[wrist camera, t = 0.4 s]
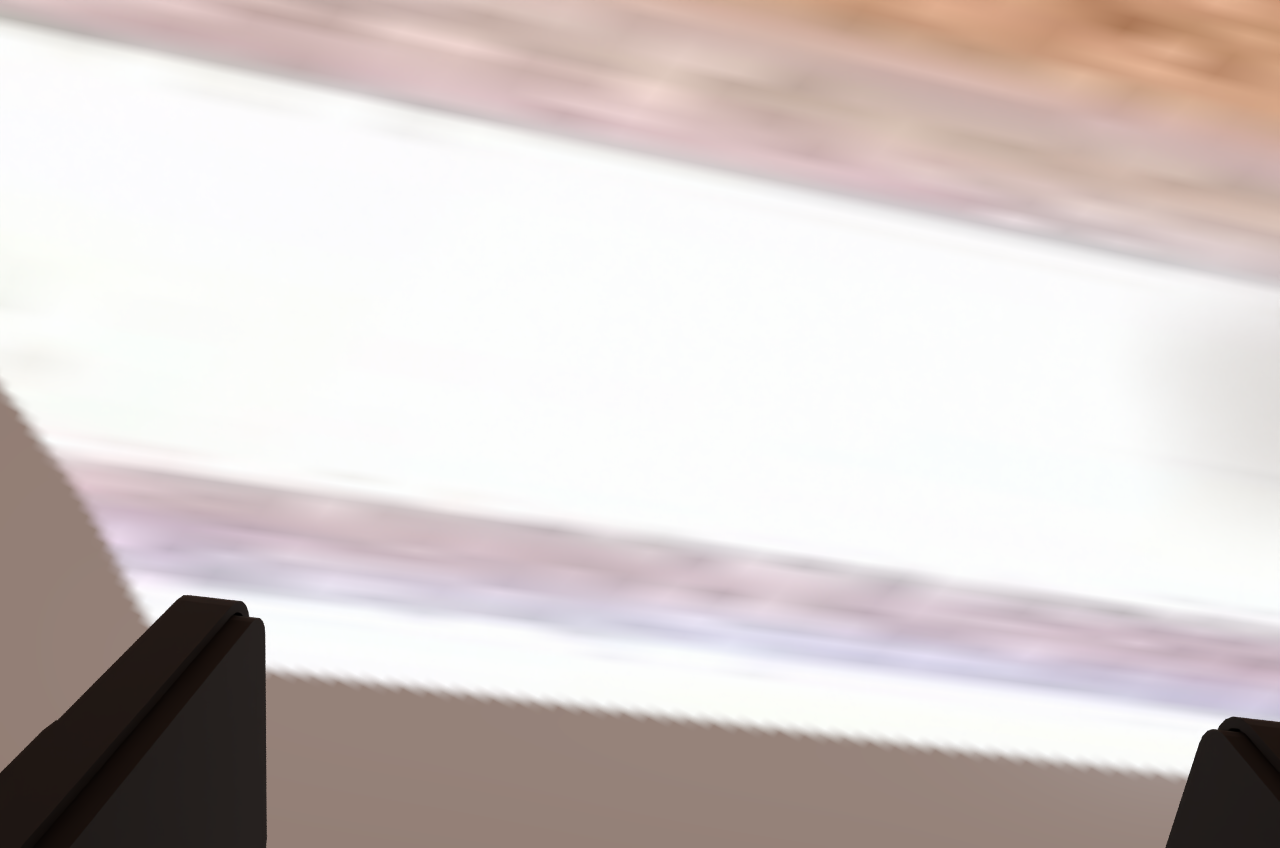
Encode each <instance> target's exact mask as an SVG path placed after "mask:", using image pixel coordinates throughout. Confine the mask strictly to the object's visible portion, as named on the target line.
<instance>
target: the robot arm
mask: <svg viewBox="0 0 1280 848" xmlns="http://www.w3.org/2000/svg"><path fill="white" fill-rule="evenodd" d="M265 681H266V673H265V626H264V623H263V621H262V620H261V619H260V618H254V617H249V613H248V610H247V607H246V605H245V604H244V603H243V602H242V601H235V600H226V599H217V598H209V597H200V596H192V595H183V596H182V597H180V598H179V599H178V600H176V601H175V602H174V603H173V604H172V605H171V606H170V607H169V608H168V609H167V611H166V612H165V613H164V614H163V615H162V616H161V617H160V618H159V619H158V620H157V621H156V622H155V623H154V624H153V625H152V626H151V627H150V628H149V629H148V630H147V631H146V632H145V633H144V634H143V635H142V636H141V637H140V638H139V639H138V640H137V641H136V642H135V643H134V644H133V645H132V646H131V647H130V648H129V649H128V650H127V651H126V652H125V653H124V654H123V655H122V656H121V657H120V658H119V659H118V660H117V661H116V662H115V663H114V664H113V665H112V666H111V667H110V668H109V669H108V670H107V671H106V672H105V673H104V674H103V675H102V676H101V677H100V678H99V679H98V680H97V681H96V682H95V683H94V684H93V685H92V686H91V687H90V688H89V689H88V690H87V691H86V692H85V693H84V694H83V695H82V696H81V697H80V699H78V700H77V701H76V702H75V703H74V704H73V705H72V706H71V707H70V708H69V709H68V710H67V711H66V713H64V714H63V715H62V716H61V717H60V718H59V719H58V720H56V721H55V722H53V723H52V724H51V725H49V726H48V727H47V728H45V729H44V730H43V731H42V732H41V733H40V734H39V735H38V736H37V737H36V738H35V739H34V740H33V741H32V742H31V743H30V744H29V745H28V746H27V747H26V748H25V749H24V750H23V751H22V752H21V753H20V754H19V755H18V756H17V757H16V758H15V759H14V760H13V761H12V762H11V763H10V764H9V765H8V766H7V767H6V768H5V769H4V770H3V771H2V772H1V773H0V848H266V840H267V825H266V824H267V823H266V821H267V819H266V816H267V815H266V688H265V686H266V683H265ZM1166 848H1280V722H1275V721H1266V720H1258V719H1249V718H1241V717H1231V718H1228V719H1225V720H1224V721H1223V723H1222V724H1221V725H1220V726H1219V728H1218V730H1216V729H1212V730H1209V731H1207V732H1206V733H1205V734H1204V735H1203V736H1202V739H1201V741H1200V743H1199V746H1198V749H1197V752H1196V755H1195V758H1194V761H1193V764H1192V767H1191V770H1190V774H1189V777H1188V780H1187V783H1186V786H1185V789H1184V792H1183V796H1182V798H1181V801H1180V804H1179V808H1178V811H1177V814H1176V817H1175V820H1174V823H1173V826H1172V829H1171V832H1170V835H1169V839H1168V841H1167V845H1166Z"/></svg>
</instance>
